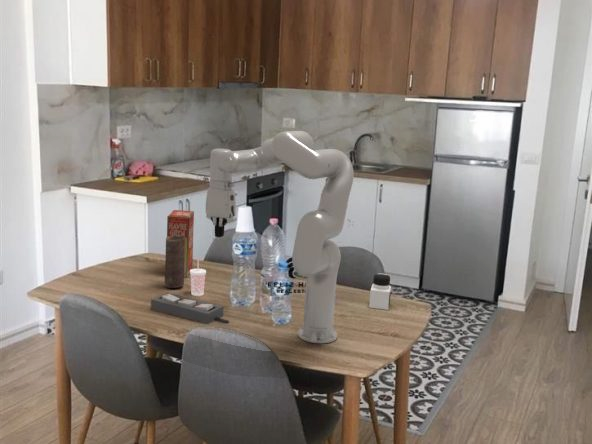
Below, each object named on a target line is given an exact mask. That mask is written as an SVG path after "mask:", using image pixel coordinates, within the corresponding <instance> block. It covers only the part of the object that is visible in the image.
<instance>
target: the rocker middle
mask: <svg viewBox="0 0 592 444" xmlns="http://www.w3.org/2000/svg"><path fill="white" fill-rule="evenodd" d="M178 304H182V305H186V306H193V305H195V304H196V301H193V300H187V299H183V300H181V301H179V302H178Z"/></svg>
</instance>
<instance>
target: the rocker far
mask: <svg viewBox="0 0 592 444" xmlns="http://www.w3.org/2000/svg"><path fill="white" fill-rule="evenodd" d="M171 294H172V293H171ZM171 294H166V295H164V296H162V299H163V300H166V301H170V302H176V301H178V300H180V298H177V297H175V296H173V295H171Z"/></svg>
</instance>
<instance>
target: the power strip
mask: <svg viewBox="0 0 592 444" xmlns="http://www.w3.org/2000/svg"><path fill="white" fill-rule="evenodd" d="M166 294H171V295H173V296H175V297H177V298H180V300H178V301H176V302H170V301H166V300H163V299H162V296H164V295H166ZM183 299H187V300H193V301H196V304H195V305H193V306H186V305H182V304H178V302H179V301H181V300H183ZM199 304H213V308H212V309H210V310H207V311H206V310H202V309H198V308H195V306H197V305H199ZM150 309H151V310H153V311H158V312H161V313H165V314H168V315H173V316H176V317H180V318H184V319H189V320H191V321H195V322H198V323H203V324H207V325H209V324H211V323H212V322H215V321H218V322H222V323H225V324H229V323H230V320H229V319H226V318H222V317H224V311H225V310H224V305H220V304H216V303H212V302H207V301H203V300H200V299H199V300H198V299H195V298H192V297H191V298H190V297H188V296H184V295H180V294H175V293H171V292H165V293H163V294H161V295H158V296H156V297H153V298H150Z"/></svg>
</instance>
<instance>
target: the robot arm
mask: <svg viewBox="0 0 592 444" xmlns="http://www.w3.org/2000/svg"><path fill="white" fill-rule="evenodd" d="M313 149H314V139H313V137H312V136H311V135H310V134H309V133H308V132H306V131H304V130H288V131H287V130H286V131H282V132H279V133H276V135H275V136H274V137H272V138H269V139H266V140H265V141H263V143H262V145H261V146H258V147H255V148H252V149H241V150H231V149H227V148H213V149H212V150H211V151H210V163H209V166H210V167H209V169H210V170H209V175H210V176H209V187H208V189H207V192H206V197H205V214H206V216H205V217H206V219H208V220H210V221H211V222H212V224H213V226H214V238H222V237H224V236H225V226H226V225H227V224H228V223H232V222H234V217H235V216H236V212H237V211H236V210H237V209H236V206H237V205H236V196H235V189H233V188H234V187H235V183H233V175H235V174H236V175H237V174H243V173H251V172H256V171H259V170H263V169H266V168H267V169H268V168H271V167H275V166H277V165H281V164H284V165H286V166H287V167H289V168H290V169H292V170H293V171H295V172H296V173H298V175H300V176H302V177H303V178H305V179H308V180H319V179H324V178H327V181H326V182H325V184H324V186H323V188H322V190H321V194H320V200H319V203H318V206H317V209H316V210H315V209H314V210H312V211H309V212H307V213H305V214H304V215H303V216H302V217H301V219H300V220H299V222H298V224H297V225H298V226H297V228H296V234H295V240H294V245H293V250H292V254H291V255H292V258H291V260H292V262H291V263H292V266H293V269H294V271H295V272H296V273H297V274H298V275H300V276H301V277H306V280H305V291H304V307H303V308H304V310H303V324H302V327H301V328H299V329H298V331H297V336H298V337H299V339H301V340H302V341H305V342H308V343H312V344H328V343H333V342H334V341H336V340H337V339H338V332H337V331H336V330H334V321H335V320H334V318H335V317H334V316H335V302H336V292H337V290H336V289H337V278H338V272H339V269H340V268H339V267H340V266H341V265H340V264H341V260H342V257H341V256H342V255H341V249H340V248H339V246H338V245H337V244H336V242H334V241H332V239H334V238H337V237H338V236H339V235H340V234H341V233H342V231H343V228H344V223H345V221H346V219H345V218H346V216H347V215H346V214H347V210H348V206H349V205H348V203H349V199H350V194H351V191H352V187H353V183H354V176H355V175H354V174H355V171H354V167H353V163H352V161H351V160H350V158H349V157H348V156H347V154H346V153H344V152H343V151H341V150H339V149H335V148H323V149H315V150H313ZM330 239H331V240H330Z"/></svg>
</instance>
